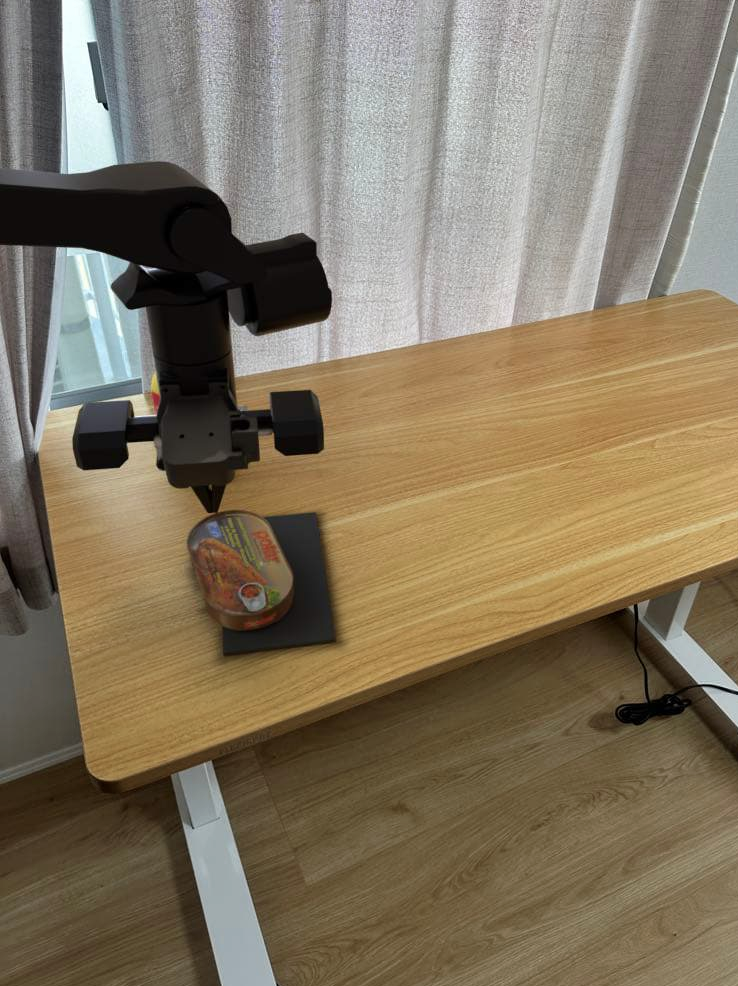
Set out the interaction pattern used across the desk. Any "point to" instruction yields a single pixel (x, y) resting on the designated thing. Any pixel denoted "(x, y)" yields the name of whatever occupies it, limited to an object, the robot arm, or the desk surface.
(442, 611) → the desk surface
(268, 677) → the desk surface
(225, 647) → the mat
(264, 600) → the tin
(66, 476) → the desk surface
